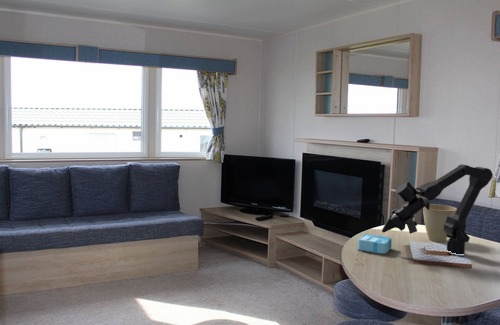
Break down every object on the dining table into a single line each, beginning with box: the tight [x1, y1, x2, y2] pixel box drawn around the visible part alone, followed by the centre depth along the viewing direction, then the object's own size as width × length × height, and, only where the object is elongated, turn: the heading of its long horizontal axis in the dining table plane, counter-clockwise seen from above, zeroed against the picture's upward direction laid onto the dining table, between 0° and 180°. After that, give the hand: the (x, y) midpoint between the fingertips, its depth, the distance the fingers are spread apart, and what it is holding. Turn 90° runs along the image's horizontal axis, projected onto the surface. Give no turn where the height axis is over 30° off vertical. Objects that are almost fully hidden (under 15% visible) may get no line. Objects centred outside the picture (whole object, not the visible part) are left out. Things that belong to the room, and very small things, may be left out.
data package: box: [357, 233, 392, 255], centre depth 205 cm, size 12×4×12 cm
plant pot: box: [422, 203, 458, 243], centre depth 223 cm, size 15×15×16 cm
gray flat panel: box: [357, 248, 382, 255], centre depth 206 cm, size 10×11×1 cm
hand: (382, 231), depth 202 cm, fingers closed
